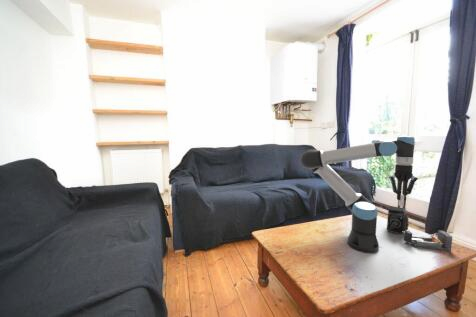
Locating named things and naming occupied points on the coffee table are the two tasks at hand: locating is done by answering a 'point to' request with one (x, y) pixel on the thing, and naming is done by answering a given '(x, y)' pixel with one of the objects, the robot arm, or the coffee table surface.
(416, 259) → the coffee table surface
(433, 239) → the orange upright plank
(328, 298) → the coffee table surface
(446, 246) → the gauge body
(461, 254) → the coffee table surface
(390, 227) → the camera
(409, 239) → the plunger
